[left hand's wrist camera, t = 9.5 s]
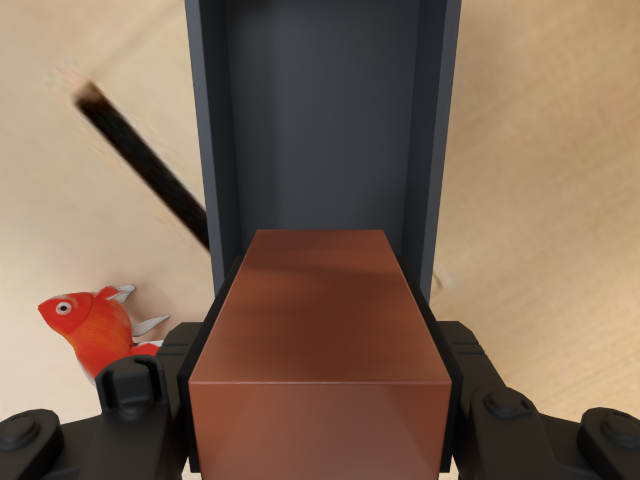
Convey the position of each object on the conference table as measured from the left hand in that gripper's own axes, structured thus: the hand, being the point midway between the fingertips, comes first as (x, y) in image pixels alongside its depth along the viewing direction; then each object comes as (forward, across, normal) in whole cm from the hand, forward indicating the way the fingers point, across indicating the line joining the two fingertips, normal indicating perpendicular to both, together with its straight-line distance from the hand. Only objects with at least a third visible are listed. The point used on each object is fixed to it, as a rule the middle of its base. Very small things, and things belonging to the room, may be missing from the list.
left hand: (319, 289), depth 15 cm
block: (0, 0, 0) cm, 0 cm away
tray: (+11, 0, +8) cm, 14 cm away
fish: (+21, -16, -14) cm, 30 cm away
